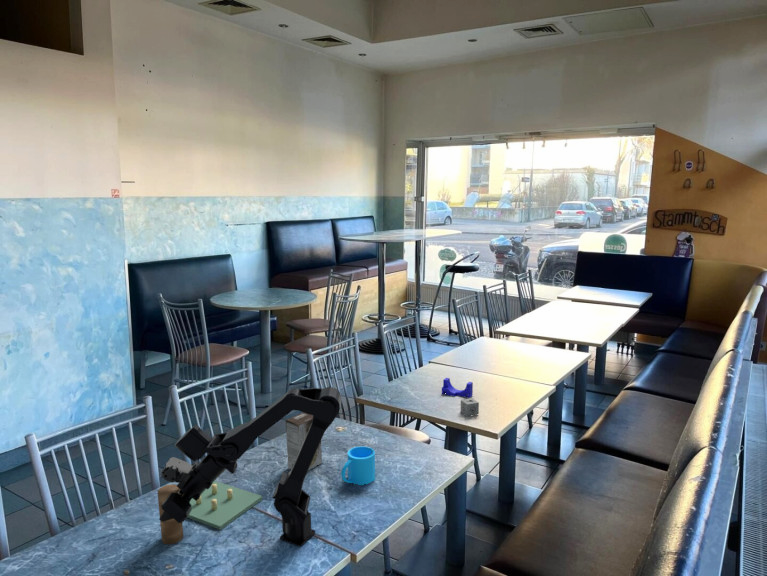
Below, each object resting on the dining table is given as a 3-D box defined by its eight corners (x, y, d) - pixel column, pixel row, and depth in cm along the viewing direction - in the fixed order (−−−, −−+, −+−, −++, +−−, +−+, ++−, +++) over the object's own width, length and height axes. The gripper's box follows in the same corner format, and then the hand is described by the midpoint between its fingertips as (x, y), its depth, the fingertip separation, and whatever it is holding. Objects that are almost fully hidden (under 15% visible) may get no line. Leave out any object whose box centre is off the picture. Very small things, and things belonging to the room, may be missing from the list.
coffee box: (308, 457, 177) (306, 410, 175) (322, 463, 173) (321, 415, 171) (286, 468, 170) (284, 419, 168) (301, 475, 166) (299, 424, 164)
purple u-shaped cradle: (441, 394, 233) (441, 380, 232) (446, 391, 236) (446, 377, 235) (468, 399, 226) (468, 385, 225) (472, 396, 230) (472, 382, 229)
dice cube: (478, 414, 210) (478, 402, 209) (467, 417, 208) (467, 404, 208) (471, 410, 215) (471, 398, 214) (460, 412, 213) (460, 399, 212)
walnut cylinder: (187, 535, 137) (183, 487, 135) (171, 546, 133) (167, 497, 131) (173, 530, 140) (169, 482, 137) (157, 540, 135) (152, 492, 133)
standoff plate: (262, 499, 153) (261, 487, 153) (220, 530, 139) (219, 517, 139) (210, 482, 163) (209, 471, 162) (165, 509, 149) (164, 497, 148)
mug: (361, 468, 170) (361, 443, 169) (381, 477, 164) (380, 452, 163) (332, 483, 161) (331, 457, 160) (351, 493, 156) (351, 466, 154)
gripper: (194, 433, 141) (155, 473, 143) (167, 468, 123) (122, 514, 125) (227, 461, 143) (187, 501, 145) (204, 500, 124) (159, 545, 126)
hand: (165, 513), depth 135 cm, fingers closed on walnut cylinder, 5 cm apart
